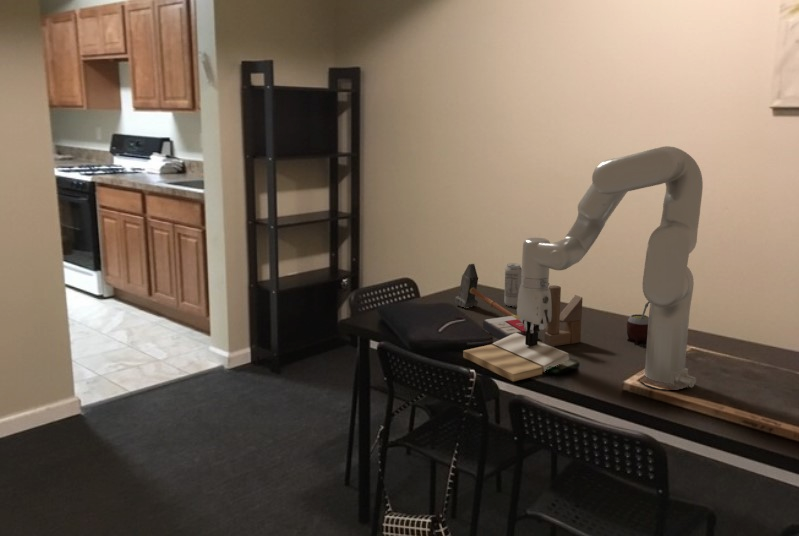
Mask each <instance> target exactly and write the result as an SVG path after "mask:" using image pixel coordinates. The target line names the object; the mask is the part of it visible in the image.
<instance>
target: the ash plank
mask: <svg viewBox="0 0 799 536" xmlns="http://www.w3.org/2000/svg"><path fill="white" fill-rule="evenodd" d="M525 339H526V336H523V335H521V334H518V333H514V334H512V335H509V336H507V337H505V338H503V339H501V340H499V339H498V340H497V341H494V342H493V343H492V344H491V345H493V346H496V347H498V348H500V349H503V350H505V351H507V352H509V353H512V354H514V355H516V356H519V357H521V358H523V359H525V360H528V361H530V362H532V363H535V364H537V365H539V366H541V367H542V373H546V372H545V371H546V369H547V367H549V366H552V365H556V364H559V363H562V362H564V363H566V362H568V361H570V355H569V353H568V352H566V351H564V350H562V349H558V348H557V347H555V346H552V347H551V346H549V345H546V344H544V342H541V341H539V340H538V344H537V345H534V346H528V345H526V344H525ZM562 364H563V363H562Z"/></svg>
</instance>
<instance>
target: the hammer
mask: <svg viewBox="0 0 799 536" xmlns="http://www.w3.org/2000/svg"><path fill="white" fill-rule="evenodd" d="M463 272H464V273H463V274H462V275H461V280H460V287H459V293H458V295H457V296H455V297H454V303H455V304H457V305H458V306H460V307H461V308H462V307H464V308H466V307H470V308H472V307H471V306H475V307H477V306H478V304H479V301H478V300H477V299H476V297H477V298H478V299H480V300H482V301H483V302H484V303H486V304H488V305H490V307H491V308H494V309H496V310H498V312H500V313H502V314H503V315H504V316H505V317H507V316H513V317H514V318H516V319H519V317H518V315H517V314H516V315H515V314H514V313H512V312H511V311H509V310H507V309H506V308H505V307H503V306H501V305H500V304H498V303H497V302H496V301H495V300H492V299H490V298H489V297H488V296H486V295H485V294H483V293H482V292H480V291H478V290H477V289H478V288H477V287H478V282H479V276H478V274H477V273H478V272H477V269H476V265H475V263H469V264H468V265H467V267H466V269H465V271H463ZM476 305H477V306H476ZM464 308H463V309H464ZM466 309H467V308H466Z"/></svg>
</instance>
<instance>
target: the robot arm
mask: <svg viewBox="0 0 799 536" xmlns="http://www.w3.org/2000/svg"><path fill="white" fill-rule="evenodd" d="M593 170H594V171H593V172H592V176H591V178H592V179H591V180H592V183H591V184H590V186H589V187H588V189H587V190H586V192H585V193H584V195H583V196H582V197H581V199H580V201H579V202H578V204H577V212H578V214H577V217H576V219H575V221H574V222H573V225H572V227H571V228H570V229H569V231H568V232H567V233H566V235H565V237H564V238H563V239H561V240H558V241H555V242H551V241H550V240H548V239H546V238H543V237H529V238H525V239H524V241H523V243H522V244H523V245H522V255H521V268H522V274H521V285H520V289H519V294H518V301H517V307H516V315H517V316H518V317H519V320H520V321H521V322H522V323H523V324H524V329H525V331H526V339H525V344H526V345H528V346H534V345H537V344H538V341H539V333H540V332H541V330H547V323H550V322H551V317H552V303H551V293H550V289H548V287H549V286H550V283H549V279H550V269H551V270H555V271H565V270H567V269H568V268H571V267H573V266H574V265H575V264H577V263H579V262H580V261H582V260H583V258H584V257H585V256H586V255H587V253H588V252H589V250H590V249H591V248H592V246H593V245H594V243H595V242H596V241H597V239H598V237H599V236H600V234H601V232H602V230H603V229H604V227H605V225H606V223H607V221H608V220H609V218H610V217H611V216H612V214H613V213H614V211H615V209H616V208H617V207H618V206H619V204H620V203H621V201H622V200H623V199H624V197H625V196H626V194H627V193H628V192H632V191H636V190H641V189H645V188H651V187H654V186H659V185H663V184H665V194H664V198H663V204H662V214H661V219H660V223H659V226H658V227H656V228H655V229H654V230H653V231H652V232H651V234H650V236H649V239H648V242H647V246H646V251H645V252H646V253H645V254H646V255H645V260H644V261H645V262H644V269H643V270H644V271H643V276H642V292H643V295H644V298H645V299H646V300H647V302H648V301H649V302H650V303H649V310H648V311H649V312H648V317H649V321H648V334H647V344H646V349H645V351H646V352H645V361H644V362H645V364H644V365H645V366H644V370H642V371H640V372H639V373H638V375H639V374H640V373H642V372H643V371H645V376H646V377H648V378H649V379H652V380H655V381H659V382H664V383H671V384H673V385H674V384H684V385H686V386H689V387H688V388H693V387H694V386H695V384H696V382H697V377H696V376H692V375H690V374H689V368H687V367H686V360H687V357H686V356H687V347H688V345H687V344H688V335H689V324H690V314H691V313H690V311H691V307H692V306H691V305H692V300H693V299H692V297H693V291H694V285H695V282H694V275H693V273H692V271H691V269H690V268H689V266H688V264H689V257H690V254H691V253H692V252H693V251H694V249H695V248H696V246H697V243H698V229H699V223H700V215H701V206H702V197H703V187H704V185H703V183H704V182H703V181H704V180H703V175H702V171H701V169H700V166H699V164H698V163H697V161H696V160H695V159H694V158H693V157H692V156H691V155H690V154H688V153H687V152H686V151H684V150H682V149H680V148H678V147H675V146H670V145H669V146H668V145H665V146H660V147H657V148H656V147H655V148H653V149H652V148H651V149H648V150H644V151H641V152H636V153H632V154H629V155H625V156H621V157H615V158H610V159H605V160H603V161H602V162H600V163H599V164H597V165H596V166H595V168H594V169H593Z"/></svg>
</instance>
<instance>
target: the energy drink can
mask: <svg viewBox="0 0 799 536" xmlns="http://www.w3.org/2000/svg"><path fill="white" fill-rule="evenodd" d="M521 274H522V264H520V263H512V262H511V263H507V264H506V268H505V269H504V296H503V297H504V301H503V302H504V304H505V306H506V305H509V306H517V301H518V294H519V289H520V285H521Z"/></svg>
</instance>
